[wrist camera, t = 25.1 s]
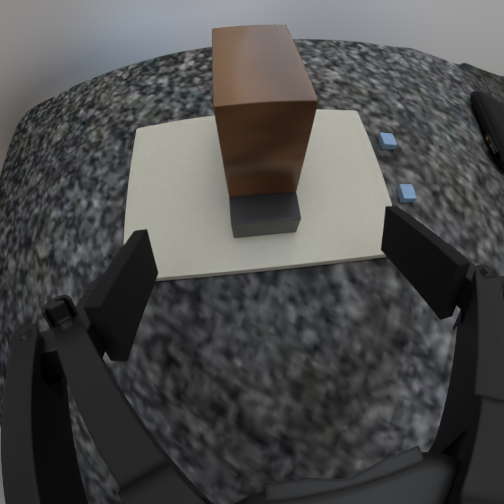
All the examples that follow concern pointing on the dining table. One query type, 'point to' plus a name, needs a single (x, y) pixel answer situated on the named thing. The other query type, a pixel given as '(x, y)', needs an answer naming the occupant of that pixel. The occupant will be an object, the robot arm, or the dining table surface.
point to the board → (218, 209)
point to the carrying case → (491, 122)
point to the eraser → (261, 125)
